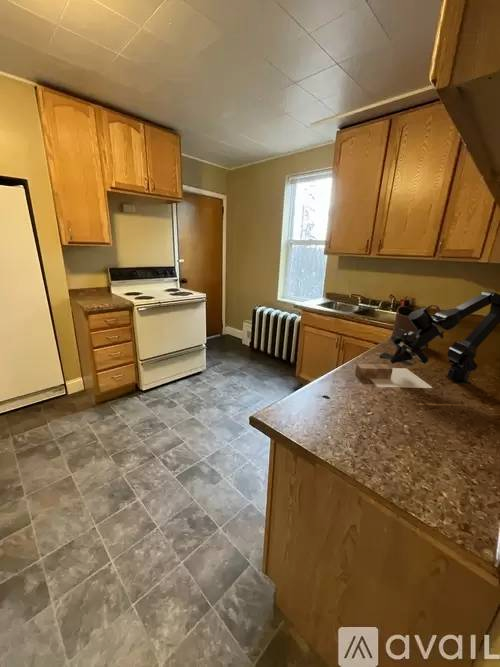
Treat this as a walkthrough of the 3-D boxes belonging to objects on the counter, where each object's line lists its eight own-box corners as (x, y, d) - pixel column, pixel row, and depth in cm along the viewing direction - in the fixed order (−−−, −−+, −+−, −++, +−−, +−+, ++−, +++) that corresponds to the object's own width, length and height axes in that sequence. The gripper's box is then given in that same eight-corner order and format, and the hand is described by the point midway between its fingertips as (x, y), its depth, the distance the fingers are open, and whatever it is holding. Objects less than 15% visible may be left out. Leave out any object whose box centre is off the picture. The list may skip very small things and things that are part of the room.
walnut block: (387, 364, 117) (356, 363, 116) (392, 369, 113) (361, 368, 112) (385, 374, 118) (354, 373, 117) (390, 379, 114) (359, 378, 113)
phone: (385, 352, 144) (416, 361, 133) (384, 354, 144) (416, 364, 134) (378, 355, 138) (411, 365, 128) (378, 358, 139) (410, 368, 128)
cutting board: (406, 369, 125) (406, 368, 125) (432, 389, 108) (433, 387, 108) (358, 368, 124) (358, 367, 124) (377, 388, 107) (377, 386, 107)
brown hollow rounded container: (405, 337, 174) (413, 297, 166) (441, 351, 152) (453, 305, 145) (381, 339, 168) (389, 297, 160) (415, 353, 146) (426, 306, 139)
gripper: (399, 317, 118) (369, 341, 121) (427, 329, 101) (392, 358, 103) (413, 335, 121) (383, 358, 124) (443, 350, 103) (408, 377, 106)
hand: (391, 362), depth 114 cm, fingers closed
